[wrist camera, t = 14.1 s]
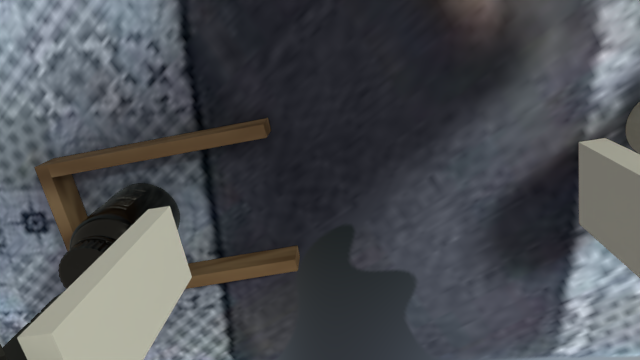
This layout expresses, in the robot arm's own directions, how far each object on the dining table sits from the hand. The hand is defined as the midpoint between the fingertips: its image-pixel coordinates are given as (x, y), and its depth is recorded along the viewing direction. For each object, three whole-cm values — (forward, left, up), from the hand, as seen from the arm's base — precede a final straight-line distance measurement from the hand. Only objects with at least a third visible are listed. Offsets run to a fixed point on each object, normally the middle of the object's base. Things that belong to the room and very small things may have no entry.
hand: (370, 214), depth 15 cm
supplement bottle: (+8, -21, -29) cm, 37 cm away
